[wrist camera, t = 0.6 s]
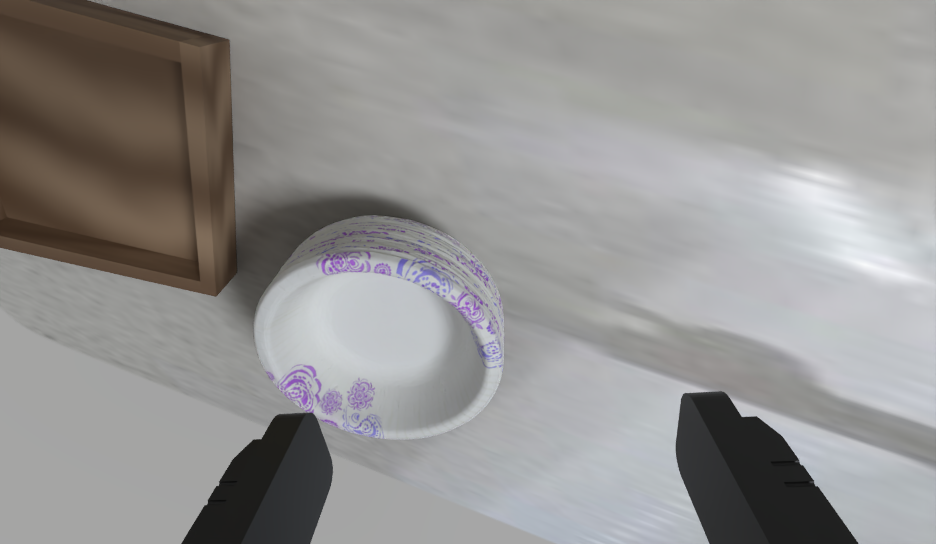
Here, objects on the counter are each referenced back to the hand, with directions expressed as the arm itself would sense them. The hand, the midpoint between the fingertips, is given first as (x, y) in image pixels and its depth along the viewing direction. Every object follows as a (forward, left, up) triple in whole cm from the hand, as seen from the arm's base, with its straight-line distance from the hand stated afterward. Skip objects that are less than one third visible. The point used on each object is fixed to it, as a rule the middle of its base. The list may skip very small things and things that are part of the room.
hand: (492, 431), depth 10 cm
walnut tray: (+6, -24, -21) cm, 32 cm away
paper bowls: (+12, -4, -21) cm, 25 cm away
